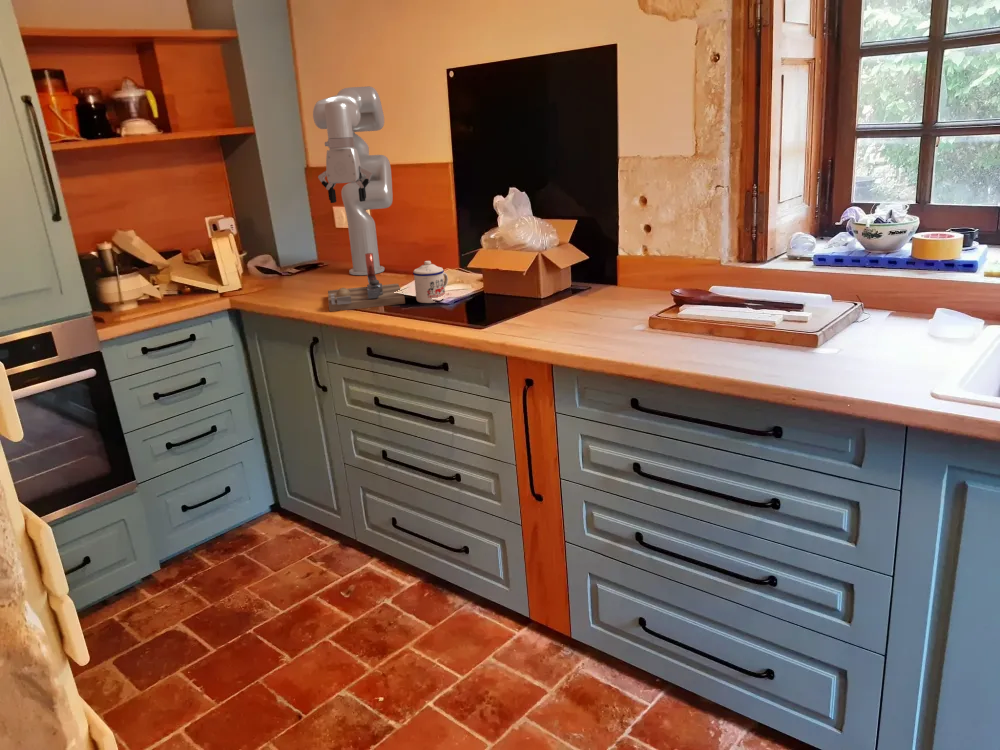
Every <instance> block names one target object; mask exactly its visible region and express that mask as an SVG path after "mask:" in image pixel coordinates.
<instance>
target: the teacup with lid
mask: <svg viewBox="0 0 1000 750" xmlns="http://www.w3.org/2000/svg"><path fill="white" fill-rule="evenodd" d="M423 263H424V264H422V265H420V266H419V267H417V268H415V269H414V270H413V272H412V274H413V279H414V280H413V281H414V289H415V290H414V291H415V299H416V301H417V303H421V304H433V303H436V302H435V301H433V300H431V299H432V298H438V297H441V296H443V295H444V294H445V295H446V292H445V291H446V289H445V288H446V287H447V286H448V283H449V276H448V274H447V273H446V272H444V271H445V270H444V269H443V267H442V266H441V267H440V266H437V265H436V264H434V263H432V262H431V260H425V261H423Z"/></svg>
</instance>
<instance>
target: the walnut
mask: <svg viewBox="0 0 1000 750" xmlns="http://www.w3.org/2000/svg"><path fill="white" fill-rule="evenodd" d="M348 289H349V288H346V287H340V288H339V289H337V290H338V291H337V293H336V296H337V297H344V296H350V292H349V290H348Z"/></svg>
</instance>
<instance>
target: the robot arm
mask: <svg viewBox="0 0 1000 750" xmlns="http://www.w3.org/2000/svg"><path fill="white" fill-rule="evenodd" d="M312 119H313V122H314V124H315V126H316V127H317V128H318V129H320V130H326V132H327V141H325V142H324V146H325V147H328V149H329V150H327V149H326V156H325V160H326V161H325V165H326V170H325V171H323V172H322V173H320V174H319V175H318V177H317V178H318V180H319V181H320V182H321V185H322V186H323V188H325V189H326V190H327V194H328V200H329V201H330V204H335V203H337V195H336V194H337V193H336V190H335V189H334V188H335V187H336V184H344V185H343V186H342V189H341V192H340V193H341V200H342V203H343V208H344V210H345V216H346V219H347V229H348V237H349V245H350V253H351V261H352V268H350V269H349V272H348V273H349V274H350V275H352V276H367V267H366V258H365V254H366V253H373V260H374V269H375V275H377V274H380V273H383V272H384V271H385V267H384V266H383V265H380V256H379V255H380V254H379V248H378V247H379V246H378V237H377V230H376V221H375V220H374V218H373V217H372V215H371V214H370V213H369V212H368V210H378V209H379V210H380V209H388V208H389V207H391V206H392V205H393V197H394V196H393V195H394V194H393V179H392V167H391V162H390V161H389V158H388V157H387V156H386V155H384V154H370V147H369V145H368V143H367V142H366V141H365V139H363V138H362V137H361V136H359V135H358V134H357V133H362V132H376V131H380V130H383V128H384V125H385V116H384V110H383V106H382V101H381V99H380V95H379V93H378V91H377V90H376V89H375V88H374V87H373V86H352V87H351V86H350V87H343V88H341V89H340V90H339V91H338V93H336V95H332V96H328V97H326V98H322V99H320V100H318V101H317V102H316V103H315V104H314V106H313V110H312ZM326 179H327V180H326Z"/></svg>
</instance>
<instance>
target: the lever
mask: <svg viewBox="0 0 1000 750" xmlns="http://www.w3.org/2000/svg"><path fill="white" fill-rule="evenodd" d="M365 258H366V267H367V275H366V276H367V282H368V284H367V286H366V287H367V288H368V289H367V293H368V299H372V298H379V296H378V294H381V293H380V292H381V291H383V289H382V285H383V283H381V282H379V284H375V285H371V284H370V282H369V281H371V280H378V279H377V276H376V274H375V269H374V260H373V253H366V254H365Z"/></svg>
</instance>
